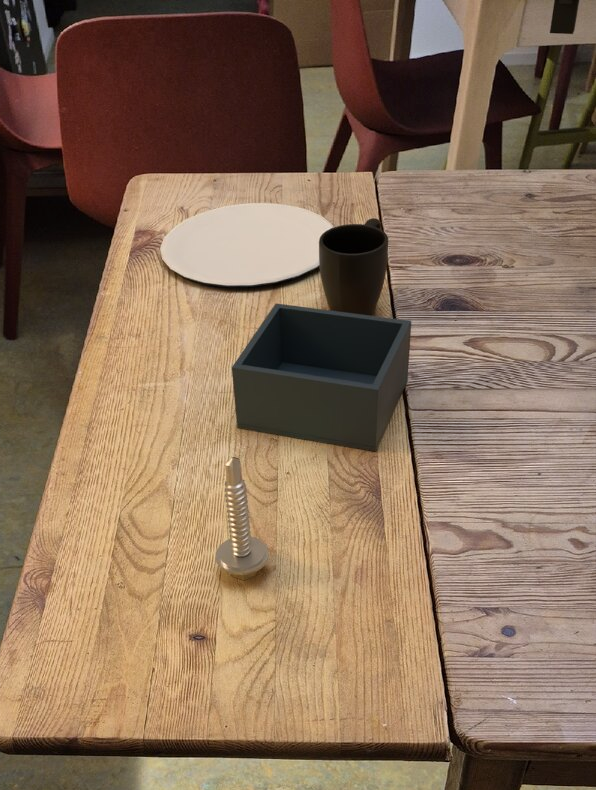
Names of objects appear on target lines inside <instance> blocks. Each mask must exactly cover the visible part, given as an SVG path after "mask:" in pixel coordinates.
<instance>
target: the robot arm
mask: <svg viewBox="0 0 596 790" xmlns="http://www.w3.org/2000/svg"><path fill="white" fill-rule="evenodd" d="M579 5H580V0H554V2H553V7H552V14H551V22H550V27H549V28H550V29H549V34H557V35H559V34H563V35H574V33H575V29H576V24H577V17H578V13H579V12H578V11H579Z"/></svg>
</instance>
